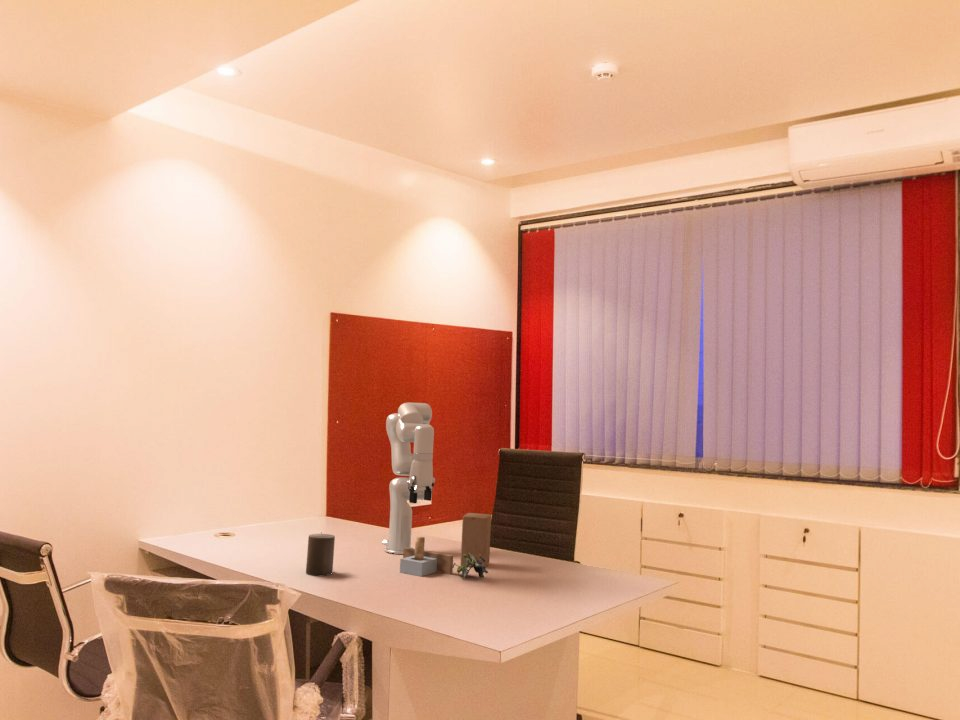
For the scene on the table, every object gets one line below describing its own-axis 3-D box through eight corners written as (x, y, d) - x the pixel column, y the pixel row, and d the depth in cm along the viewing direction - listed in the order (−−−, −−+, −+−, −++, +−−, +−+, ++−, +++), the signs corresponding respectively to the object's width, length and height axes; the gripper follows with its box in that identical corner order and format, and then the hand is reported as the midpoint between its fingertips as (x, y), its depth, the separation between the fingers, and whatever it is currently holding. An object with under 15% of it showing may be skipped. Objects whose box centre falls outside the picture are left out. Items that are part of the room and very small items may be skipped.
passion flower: (479, 592, 288) (496, 569, 284) (457, 590, 281) (474, 567, 278) (467, 570, 296) (483, 547, 293) (445, 567, 289) (461, 544, 286)
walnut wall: (402, 566, 302) (403, 548, 302) (405, 565, 304) (406, 547, 304) (449, 574, 291) (450, 556, 291) (452, 574, 292) (453, 555, 293)
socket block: (399, 572, 290) (400, 558, 291) (415, 568, 299) (415, 555, 299) (421, 576, 285) (422, 562, 286) (436, 571, 294) (437, 558, 294)
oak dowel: (412, 569, 292) (413, 537, 292) (417, 567, 295) (419, 536, 295) (419, 570, 290) (421, 538, 291) (424, 569, 293) (426, 537, 294)
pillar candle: (316, 577, 277) (319, 535, 278) (300, 571, 284) (303, 531, 285) (337, 573, 285) (340, 533, 286) (322, 568, 291) (325, 529, 292)
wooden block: (484, 568, 305) (487, 517, 306) (460, 566, 307) (462, 515, 308) (489, 563, 315) (491, 514, 316) (465, 561, 317) (467, 512, 318)
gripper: (427, 455, 308) (425, 498, 308) (401, 457, 293) (399, 502, 293) (443, 457, 304) (440, 500, 304) (417, 459, 289) (415, 505, 289)
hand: (420, 501), depth 298 cm, fingers open, 9 cm apart
